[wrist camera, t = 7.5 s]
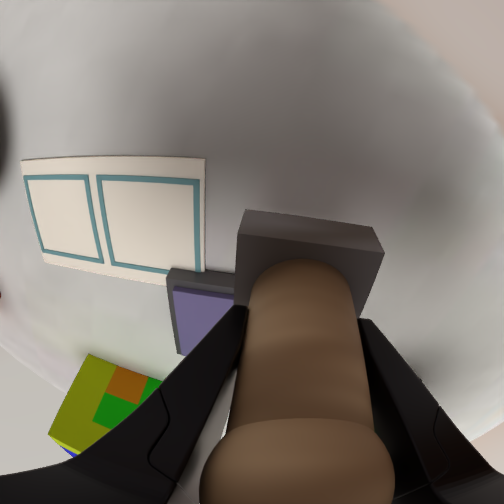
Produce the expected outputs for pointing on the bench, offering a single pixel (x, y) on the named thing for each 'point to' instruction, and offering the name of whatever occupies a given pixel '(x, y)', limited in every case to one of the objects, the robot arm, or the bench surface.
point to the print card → (119, 214)
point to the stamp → (301, 370)
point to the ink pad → (197, 304)
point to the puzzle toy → (98, 403)
